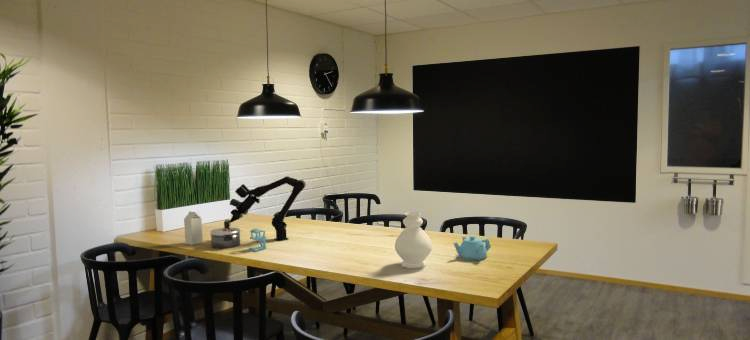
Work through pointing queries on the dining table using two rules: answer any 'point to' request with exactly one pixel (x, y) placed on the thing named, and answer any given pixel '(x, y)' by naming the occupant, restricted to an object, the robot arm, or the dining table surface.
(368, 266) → the dining table surface
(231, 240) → the cooker pot
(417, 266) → the decorative vase
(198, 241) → the milk carton
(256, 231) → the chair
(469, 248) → the teapot
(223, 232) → the cooker lid
